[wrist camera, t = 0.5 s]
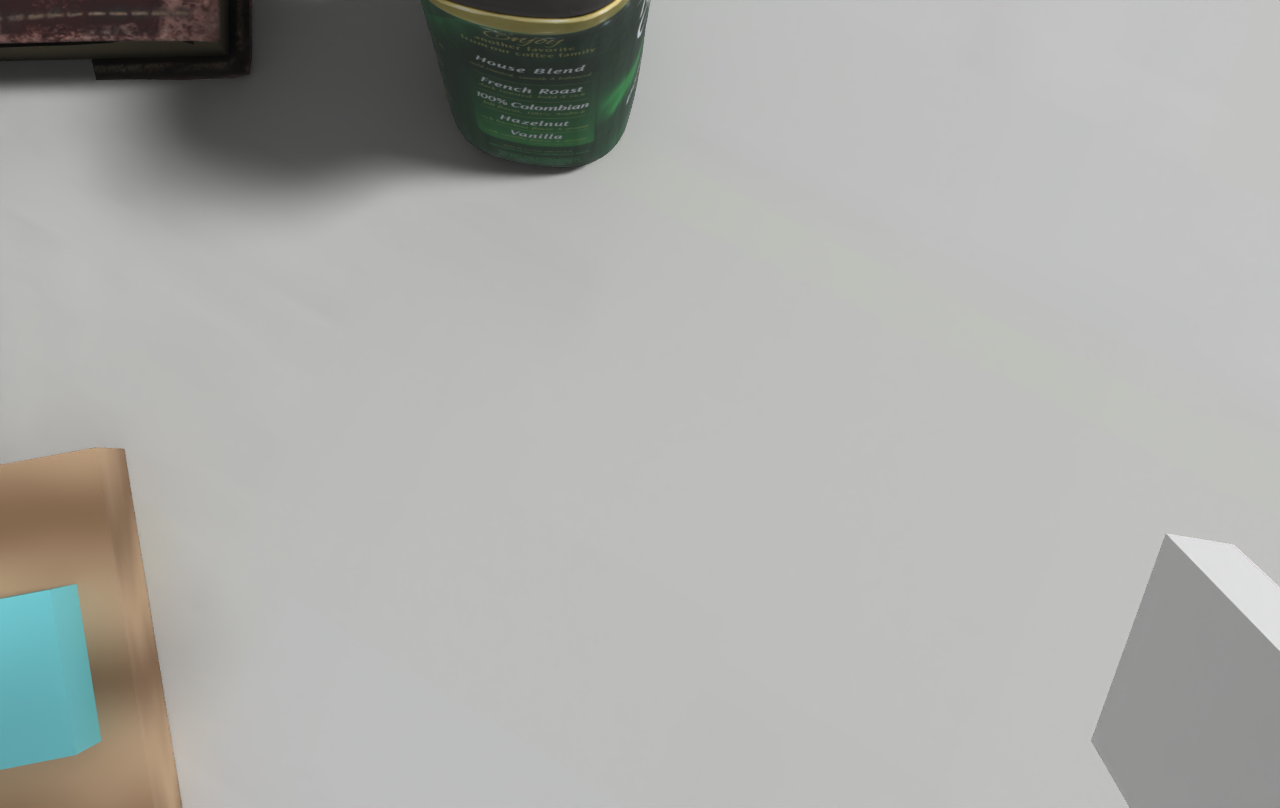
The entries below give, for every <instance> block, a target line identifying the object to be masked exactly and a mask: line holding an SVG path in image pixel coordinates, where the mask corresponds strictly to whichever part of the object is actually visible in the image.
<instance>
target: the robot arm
mask: <svg viewBox="0 0 1280 808" xmlns="http://www.w3.org/2000/svg"><path fill="white" fill-rule="evenodd" d="M1091 741H1092V743H1093V745H1094V747H1095V748H1096V750H1097V752H1098V754H1099V755H1100V757H1101V759H1102V760H1103V762H1104V764H1105V766H1106V767H1107V769H1108V771H1109V773H1110V774H1111V776H1112V778H1113V779H1114V781H1115V783H1116V785H1117V786H1118V788H1119V790H1120V792H1121V793H1122V795H1123V797H1124V798H1125V800H1126V802H1127V804H1128V805H1129V807H1130V808H1280V587H1279V586H1278V585H1277V584H1276V583H1275V582H1274V581H1273V580H1271V579H1270V578H1269V577H1268V576H1267V575H1266V574H1265V573H1264V572H1263V571H1262V570H1261V569H1260V568H1259V567H1257V566H1256V565H1255V564H1254V563H1253V562H1252V561H1251V560H1250V559H1249V558H1248V557H1247V556H1246V555H1245V554H1243V553H1242V552H1241V551H1240V550H1239V549H1238V548H1237V547H1236V546H1235V545H1233V544H1227V543H1221V542H1215V541H1209V540H1203V539H1196V538H1190V537H1184V536H1178V535H1172V534H1165V537H1164V540H1163V543H1162V546H1161V548H1160V551H1159V554H1158V557H1157V559H1156V562H1155V565H1154V568H1153V571H1152V573H1151V576H1150V579H1149V582H1148V584H1147V587H1146V590H1145V593H1144V595H1143V598H1142V601H1141V604H1140V607H1139V609H1138V612H1137V615H1136V618H1135V620H1134V623H1133V626H1132V629H1131V632H1130V634H1129V637H1128V640H1127V643H1126V645H1125V648H1124V651H1123V654H1122V656H1121V659H1120V662H1119V665H1118V668H1117V670H1116V673H1115V676H1114V679H1113V681H1112V684H1111V687H1110V690H1109V692H1108V695H1107V698H1106V701H1105V704H1104V706H1103V709H1102V712H1101V715H1100V717H1099V720H1098V723H1097V726H1096V729H1095V731H1094V734H1093V737H1092V740H1091Z"/></svg>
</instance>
